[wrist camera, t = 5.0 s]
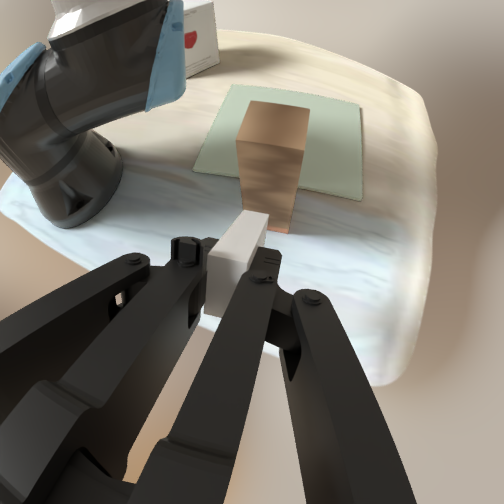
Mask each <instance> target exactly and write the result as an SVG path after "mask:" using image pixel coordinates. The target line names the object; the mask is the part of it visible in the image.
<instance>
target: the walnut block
mask: <svg viewBox="0 0 504 504" xmlns="http://www.w3.org/2000/svg"><path fill="white" fill-rule="evenodd" d="M309 115H310V109H308V108H303V107H297V106H291V105H284V104H277V103H270V102H262V101H253V100H251V101H250V103H249V106H248V108H247V111H246V113H245V116H244V119H243V121H242V124H241V126H240V129H239V132H238V134H237V137H236V149H237V158H238V168H239V177H240V186H241V195H242V204H243V210H248V211H254V212H259V213H265V214H269V218H268V224H267V230H271V231H276V232H281V233H286V234H288V231H289V226H290V221H291V217H292V212H293V207H294V202H295V197H296V192H297V187H298V182H299V177H300V172H301V166H302V161H303V156H304V150H305V144H306V137H307V130H308V122H309Z"/></svg>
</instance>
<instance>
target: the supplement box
mask: <svg viewBox="0 0 504 504" xmlns="http://www.w3.org/2000/svg"><path fill="white" fill-rule="evenodd" d="M182 1H183V3H184V41H185V66H186V78H188V77H190V76H192V75H194V74H196V73H198V72H201V71H203V70H205V69H207V68H209V67H211V66H214V65H216V64H218V63H220V58H219V49H218V40H217V32H216V23H215V13H214V6H213V5H214V4H213V2H212V1H207V0H182Z"/></svg>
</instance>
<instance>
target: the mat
mask: <svg viewBox="0 0 504 504" xmlns="http://www.w3.org/2000/svg"><path fill="white" fill-rule="evenodd" d="M251 100H253V101H262V102H270V103H277V104H284V105H291V106H297V107H303V108H308V109H310V115H309V122H308V130H307V137H306V144H305V150H304V156H303V161H302V166H301V172H300V177H299V182H298V187H297V188H301V189H306V190H311V191H316V192H321V193H325V194H330V195H335V196H339V197H344V198H348V199H352V200H357V201H362V186H363V181H362V140H361V123H360V109H359V105H358V104H355V103H351V102H347V101H342V100H338V99H334V98H329V97H324V96H319V95H314V94H309V93H303V92H297V91H290V90H284V89H276V88H268V87H259V86H249V85H236V84H232V86H231V88H230V90H229V92H228V93H227V95H226V97H225V99H224V101H223V103H222V105H221V107H220V110H219V112H218V114H217V116H216V118H215V120H214V122H213V124H212V126H211V128H210V131H209V133H208V135H207V137H206V139H205V142H204V144H203V146H202V148H201V151H200V153H199V155H198V157H197V160H196V162H195V164H194V167H193V172H200V173H208V174H216V175H223V176H230V177H237V178H240V177H239V168H238V158H237V149H236V137H237V134H238V132H239V129H240V126H241V124H242V121H243V119H244V116H245V113H246V111H247V108H248V106H249V103H250V101H251Z"/></svg>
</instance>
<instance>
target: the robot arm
mask: <svg viewBox="0 0 504 504" xmlns="http://www.w3.org/2000/svg"><path fill="white" fill-rule="evenodd" d="M51 3H52V5H53V8H54V11H55V13H56V17H55V21H54V23H53V25H52V28H51V30H50V32H49V34H48V37H47V38H48V41H49V43H50V45H51V47H52V48H50V49H48V50H46V46H45V45H43V44H42V43H41V42H37V43H35V44H33V45H32V46H30V47H29V48H28V49H26V50H25V51H24V52H23V53H21V54H20V55H19V56H18V57H17V58H16V59H15V60H14V61H13V62H12V63H11V64H10V65H8V66H7V68H6V69H5V70H4V71H3V72H2V73H1V74H0V159H1V160H2V161H3V162H4V163H5V164H6V165H7V166H8V167H9V168H10V169H11V170H12V171H13V172H14V173H15V174H16V175H17V176H18V177H19V178H20V179H22V180H23V181H24V182H25V183H26V184H27V185H28V187H29V189H30V191H31V193H32V195H33V197H34V199H35V201H36V203H37V205H38V207H39V209H40V211H41V213H42V215H43V216H44V217H45V218H46V219H47V220H49V221H50V222H51V223H52V224H53V225H55V226H57V227H61V228H70V227H74V226H77V225H80V224H82V223H84V222H86V221H87V220H89V219H90V218H92V217H93V216H94V215H95V214H97V213H98V212H99V211H100V210H101V209H102V208H103V207H104V206H105V204H106V203H107V202H108V201H109V199H110V198H111V197H112V195H113V194H114V192H115V190H116V188H117V186H118V184H119V181H120V178H121V175H122V159H121V157H120V155H119V153H118V151H117V150H116V148H115V146H114V145H113V144H112V143H111V142H110V141H108V140H107V139H106V138H104V137H103V136H101V135H100V134H98V133H97V132H96V131H94V130H93V128H95V127H98V126H101V125H103V124H106V123H109V122H112V121H114V120H117V119H120V118H123V117H126V116H129V115H132V114H135V113H139V112H142V111H145V112H148V111H150V110H151V109H152V108H155V107H158V106H162V105H165V104H168V103H171V102H174V101H176V100H178V99H179V98H180V97H181V96H182V95H183V94H184V92H185V89H186V66H185V41H184V3H183V1H182V0H170V1H167V0H51ZM268 218H269V214H265V213H259V212H254V211H248V210H243V211H242V212H241V214H240V215H239V216H238V217H237V219H236V220H235V221H234V222H233V223H232V225H231V226H230V227H229V228H228V230H227V231H226V232H225V233H224V235H223V236H222V237H221V238H220V239H215V238H210V237H208V238H205V239H203V240H200V239H198V238H195V237H188V236H185V237H177V238H174V239H172V240H171V260H170V261H169V262H168V263H167V264H166V265H165V266H150V259H149V257H148V256H146V255H144V254H141V253H130V254H126V255H123V256H121V257H119V258H117V259H114V260H112V261H110V262H108V263H106V264H104V265H102V266H100V267H98V268H96V269H94V270H92V271H90V272H88V273H87V274H85V275H83V276H81V277H79V278H77V279H75V280H73V281H71V282H69V283H67V284H66V285H63V286H62V287H60V288H58V289H56V290H54V291H52V292H51V293H49V294H47V295H45V296H43V297H41V298H40V299H38V300H36V301H34V302H32V303H31V304H29V305H27V306H25V307H24V308H22V309H20V310H18V311H17V312H15V313H13V314H11V315H10V316H8V317H6V318H5V319H3V320H1V321H0V504H223V503H224V499H225V496H226V492H227V489H228V485H229V482H230V478H231V475H232V470H233V467H234V463H235V459H236V455H237V451H238V448H239V444H240V440H241V436H242V432H243V429H244V425H245V421H246V416H247V413H248V409H249V404H250V401H251V396H252V392H253V388H254V384H255V379H256V375H257V371H258V367H259V363H260V358H261V354H262V350H263V345H264V341H266V342H268V343H271V344H273V345H275V346H277V347H279V356H280V361H281V366H282V372H283V377H284V382H285V388H286V393H287V398H288V404H289V409H290V415H291V420H292V425H293V431H294V437H295V442H296V448H297V453H298V459H299V464H300V470H301V475H302V481H303V486H304V492H305V498H306V504H417V503H416V500H415V497H414V494H413V491H412V488H411V485H410V483H409V480H408V477H407V475H406V472H405V469H404V466H403V464H402V461H401V458H400V456H399V453H398V451H397V448H396V446H395V443H394V441H393V438H392V436H391V433H390V431H389V428H388V426H387V423H386V421H385V419H384V416H383V414H382V411H381V409H380V407H379V404H378V402H377V400H376V398H375V395H374V393H373V391H372V388H371V386H370V384H369V382H368V379H367V377H366V375H365V373H364V371H363V368H362V366H361V364H360V362H359V360H358V358H357V355H356V353H355V351H354V349H353V347H352V345H351V343H350V341H349V338H348V336H347V334H346V332H345V330H344V328H343V326H342V324H341V322H340V320H339V318H338V316H337V314H336V312H335V310H334V308H333V306H332V304H331V302H330V300H329V299H328V297H327V296H326V295H324V294H322V293H321V292H319V291H317V290H311V289H301V290H298V291H296V292H295V294H294V295H292V294H289V293H287V292H285V291H284V290H282V289H281V288H280V287H279V285H278V283H277V279H278V274H279V269H280V264H281V259H282V255H281V253H280V252H279V250H274V249H269V248H264V242H265V236H266V230H267V224H268ZM119 293H121V298H122V303H121V304H119V305H117V304H116V299H115V296H116V295H117V294H119ZM203 305H204V314H208V315H212V316H216V317H220V318H222V319H221V321H220V324H219V326H218V328H217V330H216V332H215V335H214V337H213V339H212V341H211V343H210V346H209V348H208V350H207V352H206V355H205V356H204V359H203V361H202V363H201V365H200V368H199V370H198V372H197V374H196V376H195V378H194V381H193V383H192V385H191V387H190V390H189V391H188V394H187V396H186V398H185V401H184V402H183V405H182V407H181V409H180V411H179V413H178V416H177V418H176V420H175V422H174V424H173V426H172V429H171V431H170V433H169V434H168V436H167V437H166V438H163V439H160V440H159V441H158V442H157V444H156V445H155V447H154V449H153V450H152V452H151V454H150V456H149V458H148V460H147V462H146V464H145V466H144V469H143V471H142V473H141V475H140V477H139V479H138V481H137V483H136V484H134V483H129V482H125V481H122V480H123V478H124V475H125V473H126V469H127V457H128V454H129V452H130V450H131V448H132V446H133V443H134V442H135V440H136V438H137V436H138V434H139V432H140V430H141V428H142V427H143V425H144V423H145V421H146V419H147V417H148V415H149V413H150V411H151V410H152V408H153V406H154V404H155V402H156V400H157V398H158V396H159V394H160V393H161V391H162V388H163V387H164V385H165V383H166V381H167V380H168V378H169V376H170V374H171V372H172V370H173V368H174V367H175V365H176V363H177V361H178V359H179V357H180V356H181V354H182V352H183V350H184V348H185V346H186V344H187V342H188V341H189V339H190V337H191V335H192V334H193V331H194V330H195V328H196V326H197V324H198V323H199V321H200V314H201V308H202V306H203Z"/></svg>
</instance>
